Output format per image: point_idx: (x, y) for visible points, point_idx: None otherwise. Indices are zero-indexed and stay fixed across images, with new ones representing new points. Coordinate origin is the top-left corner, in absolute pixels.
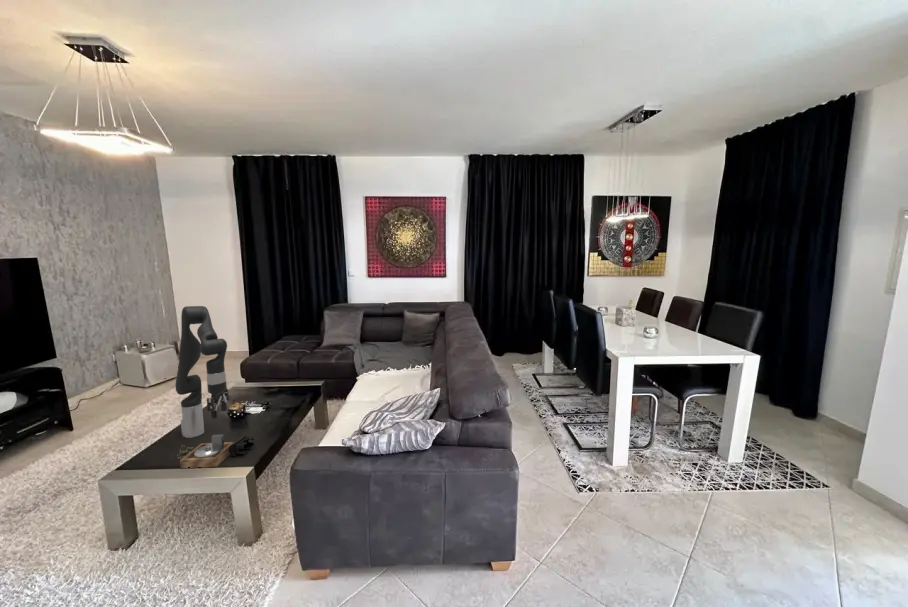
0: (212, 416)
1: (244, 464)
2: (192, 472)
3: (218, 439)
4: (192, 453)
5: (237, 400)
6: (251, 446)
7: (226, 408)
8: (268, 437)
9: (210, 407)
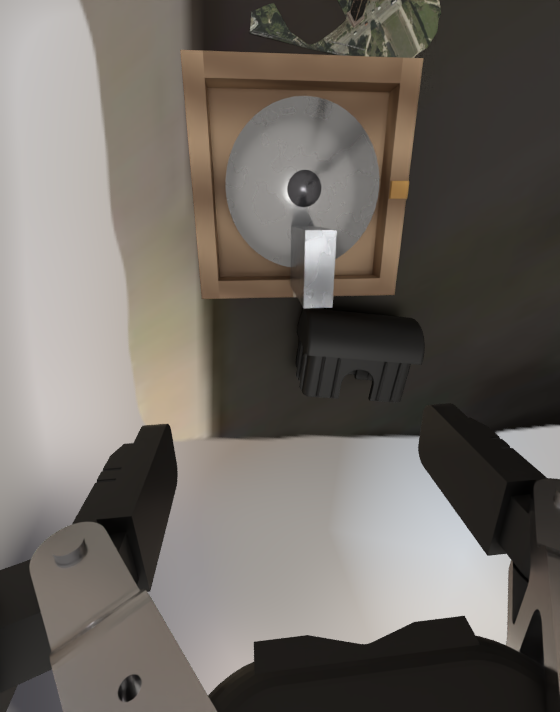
0: (111, 472)
1: (227, 402)
2: (150, 185)
3: (299, 281)
4: (284, 81)
5: None
6: (367, 376)
7: (443, 482)
8: (473, 389)
9: (40, 611)
